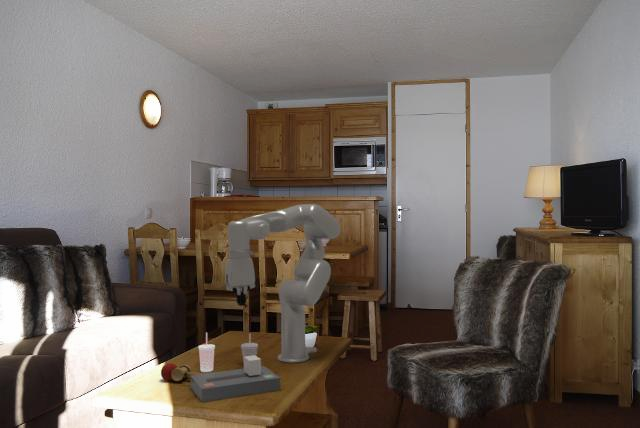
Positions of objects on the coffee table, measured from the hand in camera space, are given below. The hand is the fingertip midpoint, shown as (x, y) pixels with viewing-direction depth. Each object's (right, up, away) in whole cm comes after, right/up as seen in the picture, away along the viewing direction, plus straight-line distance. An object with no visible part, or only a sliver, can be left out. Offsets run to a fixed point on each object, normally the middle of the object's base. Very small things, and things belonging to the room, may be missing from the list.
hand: (241, 305), depth 198 cm
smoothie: (+3, -25, +4) cm, 26 cm away
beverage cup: (-14, -25, +5) cm, 29 cm away
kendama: (-18, -25, -8) cm, 32 cm away
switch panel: (0, -25, -16) cm, 29 cm away
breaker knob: (+6, -20, -15) cm, 26 cm away
